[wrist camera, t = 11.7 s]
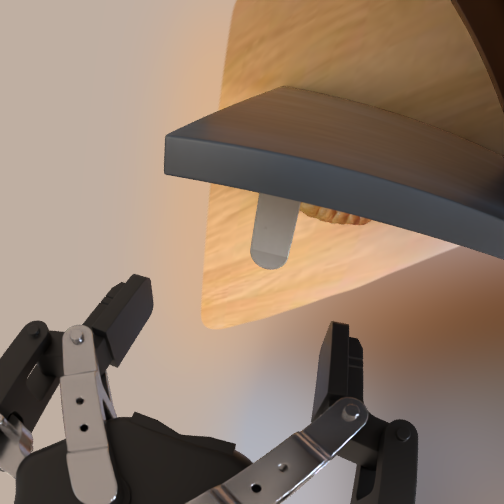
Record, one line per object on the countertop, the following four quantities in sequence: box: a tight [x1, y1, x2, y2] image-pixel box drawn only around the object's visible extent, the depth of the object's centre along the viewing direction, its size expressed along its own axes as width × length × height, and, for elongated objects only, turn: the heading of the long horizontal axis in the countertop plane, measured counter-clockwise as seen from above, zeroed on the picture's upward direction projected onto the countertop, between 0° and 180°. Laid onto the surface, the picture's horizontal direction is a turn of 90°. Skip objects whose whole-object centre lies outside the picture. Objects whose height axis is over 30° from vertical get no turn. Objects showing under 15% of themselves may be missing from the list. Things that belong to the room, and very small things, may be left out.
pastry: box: [299, 202, 371, 225], centre depth 31 cm, size 9×7×4 cm
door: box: [164, 86, 504, 269], centre depth 19 cm, size 7×26×24 cm, turn 82°
